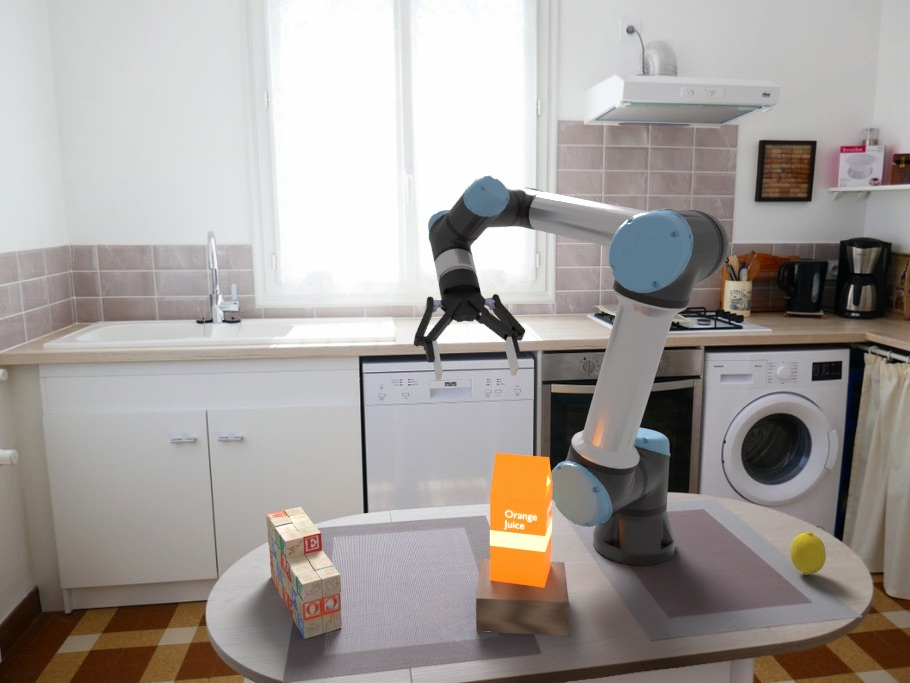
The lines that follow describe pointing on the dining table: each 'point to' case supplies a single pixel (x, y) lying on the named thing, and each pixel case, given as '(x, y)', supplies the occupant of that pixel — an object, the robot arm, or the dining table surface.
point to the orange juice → (520, 519)
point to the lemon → (808, 553)
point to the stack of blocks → (303, 572)
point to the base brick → (523, 604)
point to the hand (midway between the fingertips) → (477, 374)
